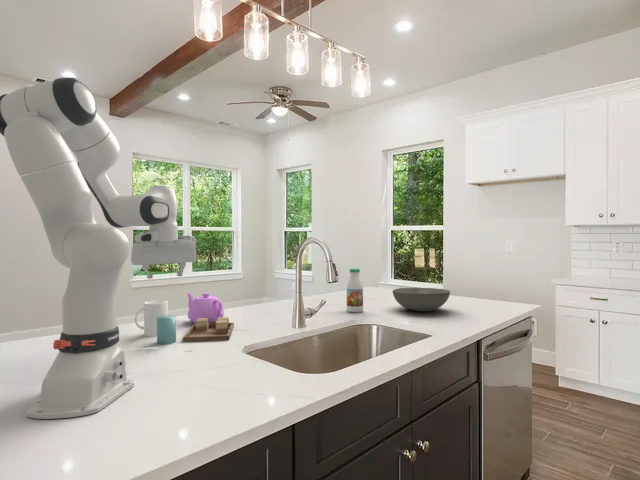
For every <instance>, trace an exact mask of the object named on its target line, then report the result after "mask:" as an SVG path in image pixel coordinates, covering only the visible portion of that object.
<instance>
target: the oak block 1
mask: <svg viewBox="0 0 640 480" xmlns="http://www.w3.org/2000/svg"><path fill="white" fill-rule="evenodd" d="M207 330H208V318H197V320H196V332H198V331H207Z"/></svg>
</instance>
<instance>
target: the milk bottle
mask: <svg viewBox="0 0 640 480" xmlns="http://www.w3.org/2000/svg"><path fill="white" fill-rule="evenodd" d="M349 274H350V275H349V277H348V280H347V283H346V311H347V312H349V313H362V312H363V311H364V287H363V286H364V285H363V282H362V280H361V277H360V268H356V267H353V268H352V267H350V268H349Z"/></svg>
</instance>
